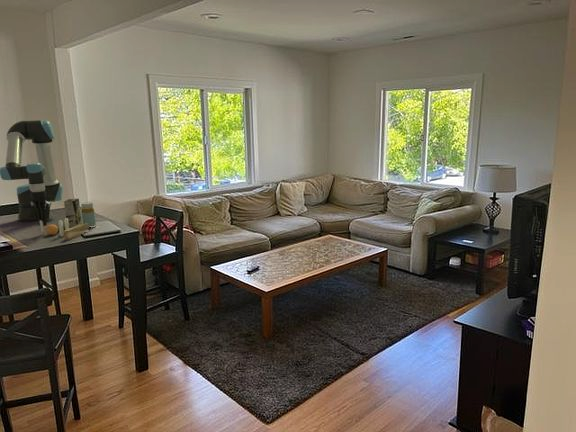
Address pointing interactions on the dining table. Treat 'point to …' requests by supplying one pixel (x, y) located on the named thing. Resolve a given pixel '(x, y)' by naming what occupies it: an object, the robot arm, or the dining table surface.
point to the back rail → (75, 231)
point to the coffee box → (73, 212)
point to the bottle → (88, 213)
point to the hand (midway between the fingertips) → (43, 231)
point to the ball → (51, 229)
